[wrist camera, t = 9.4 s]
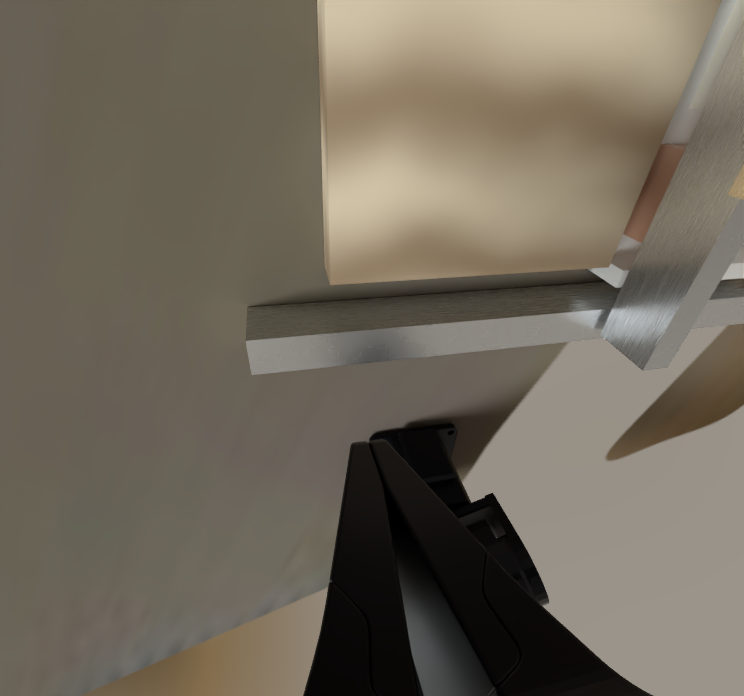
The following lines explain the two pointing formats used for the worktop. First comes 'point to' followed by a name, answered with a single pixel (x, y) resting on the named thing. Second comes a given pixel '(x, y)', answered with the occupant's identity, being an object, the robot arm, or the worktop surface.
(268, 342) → the rails
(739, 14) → the beige block
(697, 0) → the board
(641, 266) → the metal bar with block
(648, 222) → the salmon pink block
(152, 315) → the worktop surface
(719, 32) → the box
